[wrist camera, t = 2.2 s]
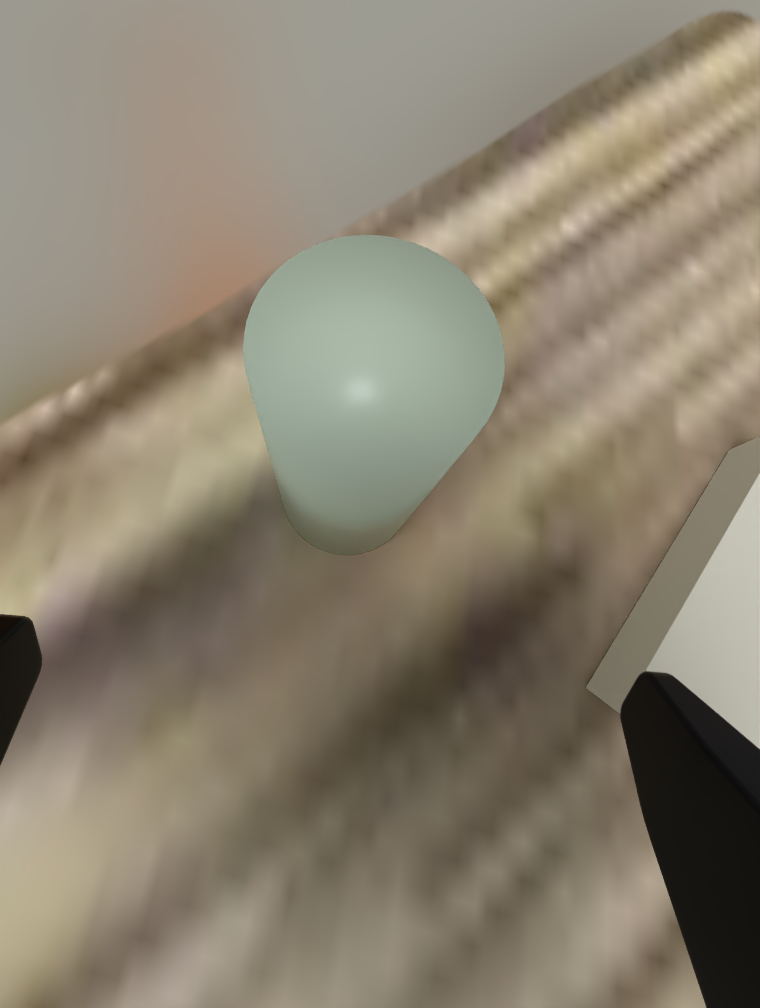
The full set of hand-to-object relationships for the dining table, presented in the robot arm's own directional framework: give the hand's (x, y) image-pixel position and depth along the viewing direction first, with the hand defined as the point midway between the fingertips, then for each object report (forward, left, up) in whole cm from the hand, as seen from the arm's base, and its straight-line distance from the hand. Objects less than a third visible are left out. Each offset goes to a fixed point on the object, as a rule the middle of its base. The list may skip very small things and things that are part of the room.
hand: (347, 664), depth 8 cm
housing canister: (+5, +3, -12) cm, 13 cm away
